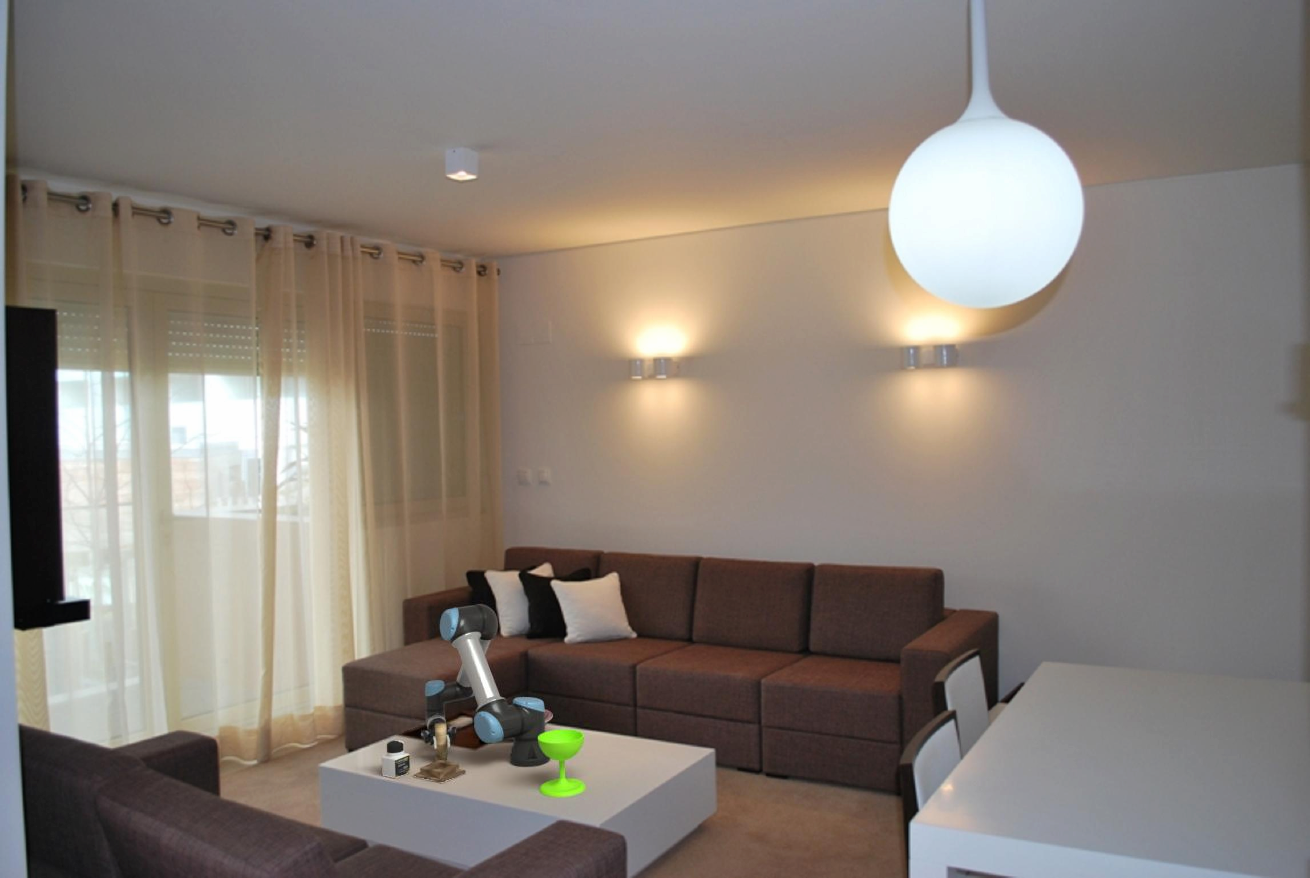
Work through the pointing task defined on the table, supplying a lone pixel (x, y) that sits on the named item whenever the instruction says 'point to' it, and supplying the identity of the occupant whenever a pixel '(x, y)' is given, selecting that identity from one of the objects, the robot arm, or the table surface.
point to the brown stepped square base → (440, 771)
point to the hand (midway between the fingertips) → (442, 744)
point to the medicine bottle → (395, 760)
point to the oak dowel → (441, 741)
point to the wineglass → (561, 760)
